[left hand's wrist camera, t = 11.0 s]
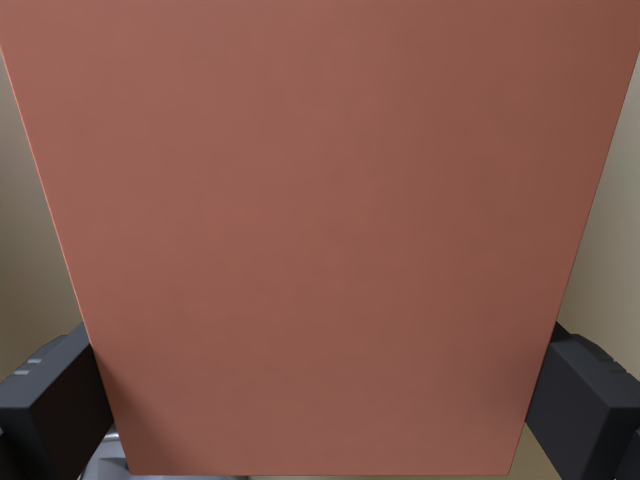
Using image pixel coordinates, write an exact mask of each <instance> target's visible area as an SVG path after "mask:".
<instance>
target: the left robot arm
mask: <svg viewBox="0 0 640 480" xmlns="http://www.w3.org/2000/svg"><path fill="white" fill-rule="evenodd" d="M525 422H526V424H527V425H528V427H529V428H530V430H531V431H532V433H533V435H534V436H535V438H536V439H537V441H538V442H539V444H540V445H541V447H542V449H543V450H544V452H545V453H546V455H547V456H548V458H549V460H550V461H551V463H552V464H553V466H554V467H555V469H556V471H557V472H558V474H559V475H560V477H561V478H562V480H614V479H616V480H640V382H639V381H638V380H637V379H636V378H634V377H633V376H632V375H631V374H630V373H627V372H626V370H625V369H624V368H623V367H622V366H621V365H620V364H619V363H617V362H614V361H613V358H612V357H611V356H609V355H608V354H607V353H606V352H605V351H604V350H603V349H602V348H600V347H599V346H598V345H596V344H595V343H593V342H591V341H589V340H588V339H586V338H584V337H582V336H581V335H579V334H570V333H569V332H567V331H566V330H565V329H564V328H563V327H562V326H561V325H560V324H559V323H558V322H557V321H556V323H555V326H554V329H553V332H552V335H551V339H550V342H549V345H548V348H547V352H546V355H545V358H544V361H543V365H542V368H541V371H540V374H539V378H538V381H537V384H536V387H535V391H534V394H533V397H532V400H531V403H530V407H529V410H528V413H527V416H526V420H525ZM0 480H249V479H248V477H247V476H133V475H131V474H130V471H129V468H128V464H127V461H126V458H125V455H124V451H123V448H122V445H121V442H120V438H119V435H118V432H117V429H116V425H115V423H114V419H113V416H112V412H111V409H110V406H109V403H108V399H107V396H106V393H105V389H104V386H103V383H102V380H101V376H100V373H99V370H98V367H97V363H96V360H95V357H94V354H93V350H92V347H91V344H90V341H89V337H88V334H87V331H86V328H85V324H84V321H83V322H82V323H81V324H80V325H79V326H77V327H76V328H75V329H74V330H73V331H72V332H71V333H70V334H69V335H61V336H60V337H58V338H56V339H54V340H53V341H51V342H49V343H47V344H46V345H44V346H42V347H41V348H40V349H39V350H38V351H36V352H35V353H34V354H33V355H32V356H31V357H30V358H29V359H27V362H26V363H23V364H22V365H21V366H20V367H18V368H17V369H16V370H15V371H14V374H13V375H9V376H8V377H7V378H6V379H5V380H4V381H3V382H1V383H0Z"/></svg>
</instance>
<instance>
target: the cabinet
mask: <svg viewBox="0 0 640 480" xmlns="http://www.w3.org/2000/svg"><path fill="white" fill-rule="evenodd" d="M0 50H1V54H2V57H3V60H4V63H5V67H6V70H7V73H8V76H9V80H10V83H11V86H12V90H13V93H14V96H15V99H16V103H17V106H18V109H19V112H20V116H21V119H22V122H23V125H24V129H25V132H26V135H27V138H28V142H29V145H30V148H31V151H32V155H33V158H34V161H35V165H36V168H37V171H38V174H39V178H40V181H41V184H42V187H43V191H44V194H45V197H46V200H47V204H48V207H49V210H50V213H51V217H52V220H53V223H54V226H55V230H56V233H57V236H58V240H59V243H60V246H61V249H62V253H63V256H64V259H65V262H66V266H67V269H68V272H69V275H70V279H71V282H72V285H73V288H74V292H75V295H76V298H77V301H78V305H79V308H80V311H81V314H82V318H83V321H84V324H85V328H86V331H87V334H88V337H89V341H90V344H91V347H92V350H93V354H94V357H95V360H96V363H97V367H98V370H99V373H100V376H101V380H102V383H103V386H104V389H105V393H106V396H107V399H108V403H109V406H110V409H111V412H112V416H113V419H114V422H115V425H116V429H117V432H118V435H119V438H120V442H121V445H122V448H123V451H124V455H125V458H126V461H127V464H128V468H129V471H130V474H131V475H133V476H507V475H508V474H509V471H510V468H511V465H512V462H513V458H514V455H515V452H516V449H517V446H518V442H519V439H520V436H521V433H522V429H523V426H524V423H525V420H526V416H527V413H528V410H529V407H530V403H531V400H532V397H533V394H534V391H535V387H536V384H537V381H538V378H539V374H540V371H541V368H542V365H543V361H544V358H545V355H546V352H547V348H548V345H549V342H550V339H551V335H552V332H553V329H554V326H555V323H556V319H557V316H558V313H559V310H560V306H561V303H562V300H563V297H564V293H565V290H566V287H567V284H568V280H569V277H570V274H571V271H572V268H573V264H574V261H575V258H576V255H577V251H578V248H579V245H580V242H581V238H582V235H583V232H584V229H585V225H586V222H587V219H588V216H589V213H590V209H591V206H592V203H593V200H594V196H595V193H596V190H597V187H598V183H599V180H600V177H601V174H602V170H603V167H604V164H605V161H606V158H607V154H608V151H609V148H610V145H611V141H612V138H613V135H614V132H615V128H616V125H617V122H618V119H619V115H620V112H621V109H622V106H623V103H624V99H625V96H626V93H627V90H628V86H629V83H630V80H631V77H632V73H633V70H634V67H635V64H636V60H637V57H638V54H639V51H640V0H0Z"/></svg>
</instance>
